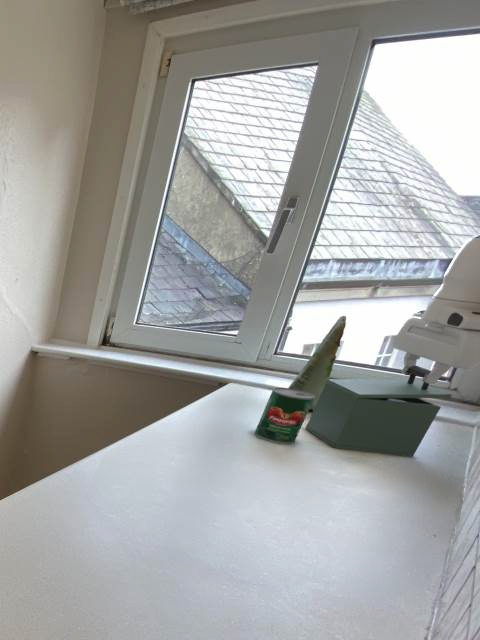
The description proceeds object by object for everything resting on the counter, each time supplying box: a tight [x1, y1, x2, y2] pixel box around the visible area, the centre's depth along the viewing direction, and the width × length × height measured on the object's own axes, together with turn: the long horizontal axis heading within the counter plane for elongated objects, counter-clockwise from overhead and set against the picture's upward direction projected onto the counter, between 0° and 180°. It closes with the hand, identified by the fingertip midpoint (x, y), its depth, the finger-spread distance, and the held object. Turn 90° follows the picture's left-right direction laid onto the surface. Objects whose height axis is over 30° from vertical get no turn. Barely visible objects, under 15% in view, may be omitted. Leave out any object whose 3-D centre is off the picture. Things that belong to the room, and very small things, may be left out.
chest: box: [304, 383, 442, 458], centre depth 126 cm, size 16×13×12 cm
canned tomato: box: [253, 387, 315, 445], centre depth 126 cm, size 8×8×11 cm
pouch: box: [287, 315, 347, 411], centre depth 147 cm, size 11×12×25 cm
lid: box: [327, 365, 453, 399], centre depth 122 cm, size 16×13×5 cm
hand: (417, 378), depth 121 cm, fingers closed on lid, 5 cm apart
